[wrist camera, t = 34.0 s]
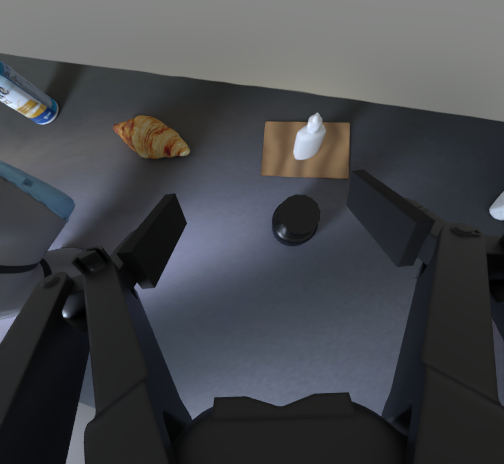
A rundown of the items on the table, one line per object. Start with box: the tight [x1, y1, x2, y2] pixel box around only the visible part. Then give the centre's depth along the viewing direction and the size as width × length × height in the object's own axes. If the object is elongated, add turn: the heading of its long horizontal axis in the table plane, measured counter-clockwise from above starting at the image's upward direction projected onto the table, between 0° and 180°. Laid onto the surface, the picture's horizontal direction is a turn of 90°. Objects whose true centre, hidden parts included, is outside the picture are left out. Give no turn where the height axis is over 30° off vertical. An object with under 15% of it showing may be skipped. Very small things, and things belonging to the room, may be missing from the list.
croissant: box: [113, 116, 190, 159], centre depth 47 cm, size 21×10×8 cm, turn 71°
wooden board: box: [261, 121, 350, 179], centre depth 46 cm, size 20×14×1 cm
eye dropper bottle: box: [293, 113, 326, 160], centre depth 40 cm, size 4×6×12 cm
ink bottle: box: [272, 195, 320, 246], centre depth 38 cm, size 10×9×12 cm
